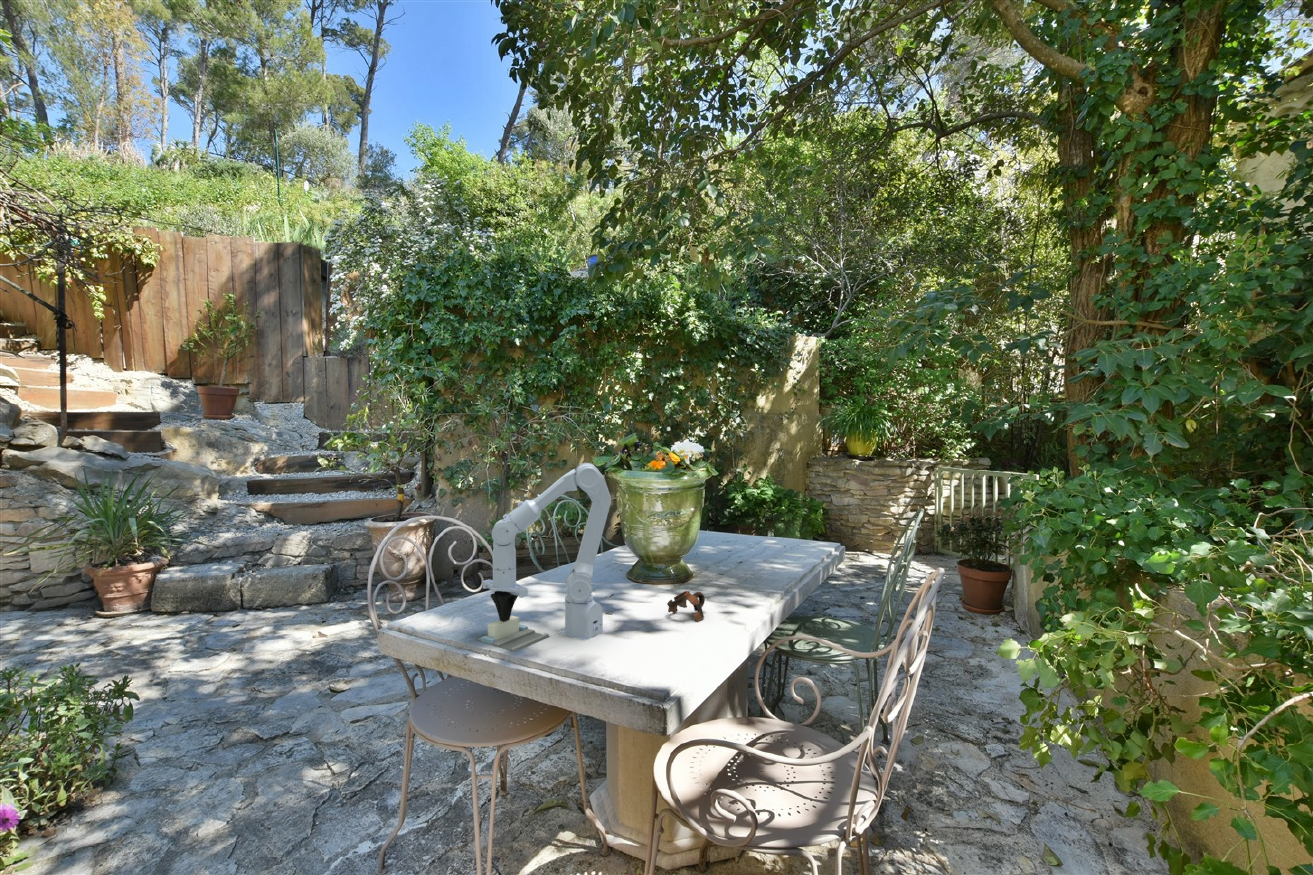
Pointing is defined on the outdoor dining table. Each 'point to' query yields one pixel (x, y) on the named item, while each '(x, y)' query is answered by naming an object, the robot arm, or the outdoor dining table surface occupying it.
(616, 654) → the outdoor dining table surface
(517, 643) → the duct plate
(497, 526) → the robot arm
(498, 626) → the cream foam block
